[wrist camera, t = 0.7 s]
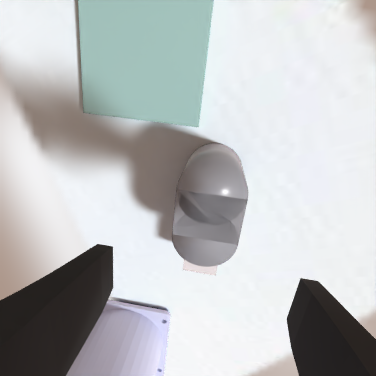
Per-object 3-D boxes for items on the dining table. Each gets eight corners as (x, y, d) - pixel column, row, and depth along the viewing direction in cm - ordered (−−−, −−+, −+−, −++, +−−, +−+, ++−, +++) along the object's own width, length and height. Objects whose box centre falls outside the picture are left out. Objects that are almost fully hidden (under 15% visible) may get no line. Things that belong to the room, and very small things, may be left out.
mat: (198, 126, 17) (197, 127, 17) (87, 112, 18) (83, 112, 17) (215, -17, 14) (215, -21, 14) (81, -28, 15) (76, -32, 14)
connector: (226, 253, 21) (227, 294, 16) (178, 245, 21) (167, 284, 17) (247, 147, 17) (254, 165, 13) (189, 139, 18) (179, 154, 13)
